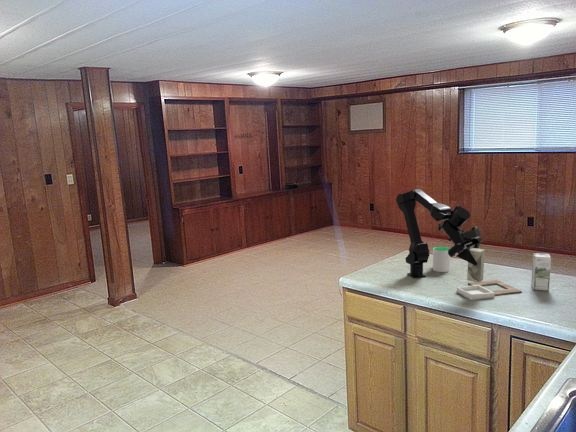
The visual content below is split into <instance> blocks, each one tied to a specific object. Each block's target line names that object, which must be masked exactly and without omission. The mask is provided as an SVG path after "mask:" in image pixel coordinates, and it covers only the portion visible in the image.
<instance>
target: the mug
mask: <svg viewBox="0 0 576 432" xmlns="http://www.w3.org/2000/svg"><path fill="white" fill-rule="evenodd" d="M450 248H451V247H446V246H435V247H433V248H432V271H434V272H438V273H448V272H451V263H452V262H451V258H452V257H450V256H449V254H448V250H449V249H450Z"/></svg>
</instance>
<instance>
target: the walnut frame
mask: <svg viewBox="0 0 576 432" xmlns="http://www.w3.org/2000/svg"><path fill="white" fill-rule="evenodd" d="M467 285H468V286H474V285H480V286H482V287H484V288H486V289H488V290H490V291H492V292H494V293H495V294H494V297H495V296H504V295H513V294H520V293H523V291H522V290H521V289H518V288H516V287H514V286H511V285H510V284H507V283H505V282H503V281H501V280H498V279H493V280H492V279H491V280H490V279H489V280H482V281H481V282H479V283H477V282H473V281H470V282H467ZM495 285H497V286H499V287H501V288H503V289H496V290H491V289H489V288H487V286H495ZM485 286H486V287H485Z"/></svg>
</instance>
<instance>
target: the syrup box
mask: <svg viewBox="0 0 576 432" xmlns="http://www.w3.org/2000/svg"><path fill="white" fill-rule="evenodd" d="M551 266H552V257H551V254H549V253H535V252H534V253H532V268H531V283H530V284H531V285H530V286H531V288H532V289H533V290H534V291H545V292H550V280H551Z"/></svg>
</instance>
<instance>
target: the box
mask: <svg viewBox="0 0 576 432" xmlns="http://www.w3.org/2000/svg"><path fill="white" fill-rule="evenodd" d="M485 251H486V250H485V249H483V248H482V249H481V248H479V249H477V248H472V249H470V253H471V255H472V256H473V258H474V259H475V261H476V262H477V265H476V266H475V265H473V264H471V263H469V262H467V279H466V280H467V281H469V282H477V283H479V282H481V281H484V271H485V269H484V268H485V253H486V252H485Z"/></svg>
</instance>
